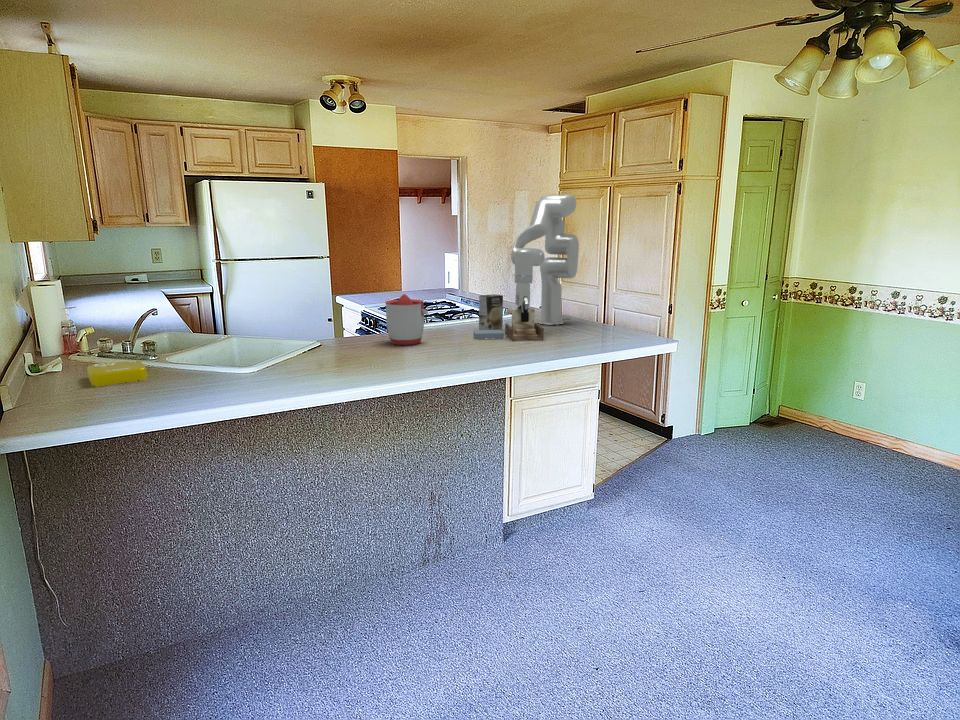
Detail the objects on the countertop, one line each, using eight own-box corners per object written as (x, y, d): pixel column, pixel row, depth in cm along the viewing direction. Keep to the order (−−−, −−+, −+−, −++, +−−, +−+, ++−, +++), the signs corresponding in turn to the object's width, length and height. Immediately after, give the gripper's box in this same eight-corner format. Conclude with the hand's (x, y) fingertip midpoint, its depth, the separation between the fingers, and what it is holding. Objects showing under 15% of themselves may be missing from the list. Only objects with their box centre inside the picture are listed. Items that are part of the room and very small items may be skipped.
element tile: (92, 389, 178) (89, 373, 177) (88, 378, 190) (86, 364, 189) (148, 381, 187) (146, 366, 186) (141, 371, 199) (139, 357, 198)
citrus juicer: (427, 347, 235) (426, 296, 231) (383, 346, 236) (381, 296, 231) (431, 339, 250) (430, 291, 246) (390, 339, 251) (388, 291, 246)
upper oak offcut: (534, 333, 253) (534, 328, 252) (535, 335, 249) (535, 330, 249) (515, 334, 252) (515, 329, 252) (516, 335, 248) (516, 330, 248)
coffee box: (487, 332, 265) (487, 296, 261) (478, 330, 270) (478, 295, 266) (503, 330, 270) (503, 295, 267) (493, 328, 275) (494, 293, 272)
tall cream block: (532, 335, 259) (532, 307, 257) (534, 337, 255) (534, 309, 252) (511, 335, 258) (511, 308, 256) (513, 337, 254) (513, 309, 251)
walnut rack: (536, 334, 262) (536, 322, 260) (543, 340, 248) (543, 328, 247) (505, 334, 260) (505, 323, 259) (510, 341, 246) (510, 329, 245)
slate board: (501, 335, 259) (501, 329, 258) (503, 338, 251) (503, 333, 250) (473, 335, 257) (473, 330, 257) (475, 339, 250) (475, 333, 249)
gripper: (511, 277, 259) (511, 317, 263) (518, 281, 242) (517, 323, 246) (528, 277, 260) (527, 316, 264) (536, 281, 243) (535, 323, 247)
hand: (522, 320), depth 255 cm, fingers open, 8 cm apart
